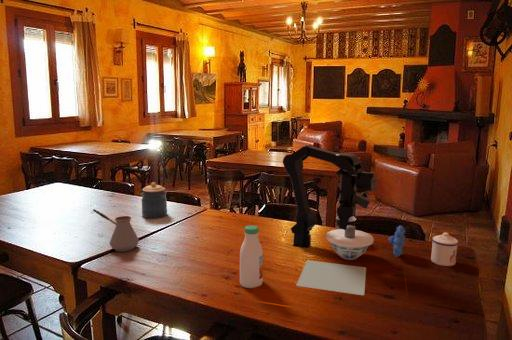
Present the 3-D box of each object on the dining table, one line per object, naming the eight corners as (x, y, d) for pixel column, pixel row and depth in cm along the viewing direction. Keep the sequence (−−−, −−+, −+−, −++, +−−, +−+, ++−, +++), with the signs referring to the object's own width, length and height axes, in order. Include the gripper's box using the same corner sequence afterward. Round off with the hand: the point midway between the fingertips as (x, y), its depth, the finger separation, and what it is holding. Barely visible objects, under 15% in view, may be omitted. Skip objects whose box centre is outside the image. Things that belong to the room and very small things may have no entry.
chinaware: (373, 255, 163) (374, 237, 162) (360, 268, 151) (362, 249, 150) (337, 247, 171) (338, 230, 170) (323, 259, 159) (324, 240, 157)
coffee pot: (144, 245, 172) (143, 211, 169) (127, 255, 161) (125, 218, 158) (104, 238, 179) (102, 205, 176) (84, 247, 169) (82, 212, 166)
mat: (295, 287, 136) (295, 285, 136) (306, 261, 157) (306, 260, 157) (364, 297, 130) (364, 295, 130) (366, 269, 151) (366, 267, 151)
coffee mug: (355, 244, 175) (356, 222, 173) (334, 242, 177) (335, 220, 175) (354, 235, 186) (355, 214, 185) (335, 233, 188) (336, 212, 186)
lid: (323, 244, 154) (323, 231, 153) (329, 229, 171) (329, 217, 170) (372, 250, 149) (373, 236, 148) (373, 234, 166) (374, 222, 165)
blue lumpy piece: (389, 248, 171) (391, 220, 169) (406, 251, 168) (408, 223, 166) (384, 257, 161) (386, 228, 159) (402, 261, 158) (404, 231, 156)
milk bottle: (254, 291, 133) (255, 232, 129) (235, 285, 137) (235, 228, 133) (266, 282, 140) (267, 226, 136) (247, 276, 144) (248, 222, 140)
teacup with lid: (454, 268, 152) (458, 238, 150) (428, 263, 156) (431, 234, 154) (457, 257, 162) (460, 229, 160) (433, 253, 166) (435, 225, 164)
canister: (164, 219, 207) (163, 185, 204) (138, 218, 207) (137, 184, 204) (169, 211, 220) (168, 179, 217) (145, 211, 220) (144, 179, 217)
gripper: (369, 194, 145) (366, 236, 148) (370, 183, 163) (367, 221, 166) (337, 191, 148) (335, 232, 151) (341, 181, 166) (339, 218, 169)
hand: (345, 225), depth 159 cm, fingers open, 9 cm apart
